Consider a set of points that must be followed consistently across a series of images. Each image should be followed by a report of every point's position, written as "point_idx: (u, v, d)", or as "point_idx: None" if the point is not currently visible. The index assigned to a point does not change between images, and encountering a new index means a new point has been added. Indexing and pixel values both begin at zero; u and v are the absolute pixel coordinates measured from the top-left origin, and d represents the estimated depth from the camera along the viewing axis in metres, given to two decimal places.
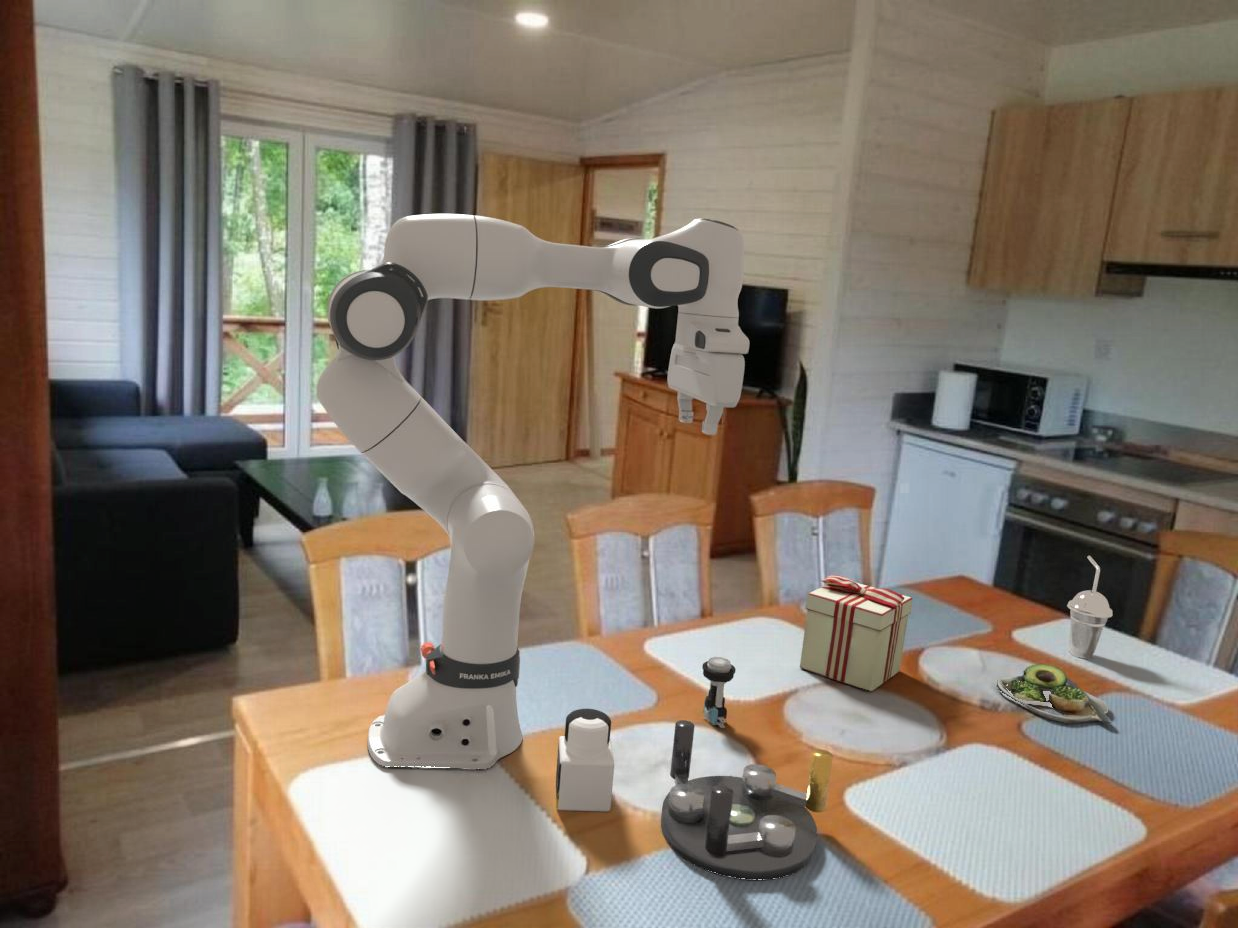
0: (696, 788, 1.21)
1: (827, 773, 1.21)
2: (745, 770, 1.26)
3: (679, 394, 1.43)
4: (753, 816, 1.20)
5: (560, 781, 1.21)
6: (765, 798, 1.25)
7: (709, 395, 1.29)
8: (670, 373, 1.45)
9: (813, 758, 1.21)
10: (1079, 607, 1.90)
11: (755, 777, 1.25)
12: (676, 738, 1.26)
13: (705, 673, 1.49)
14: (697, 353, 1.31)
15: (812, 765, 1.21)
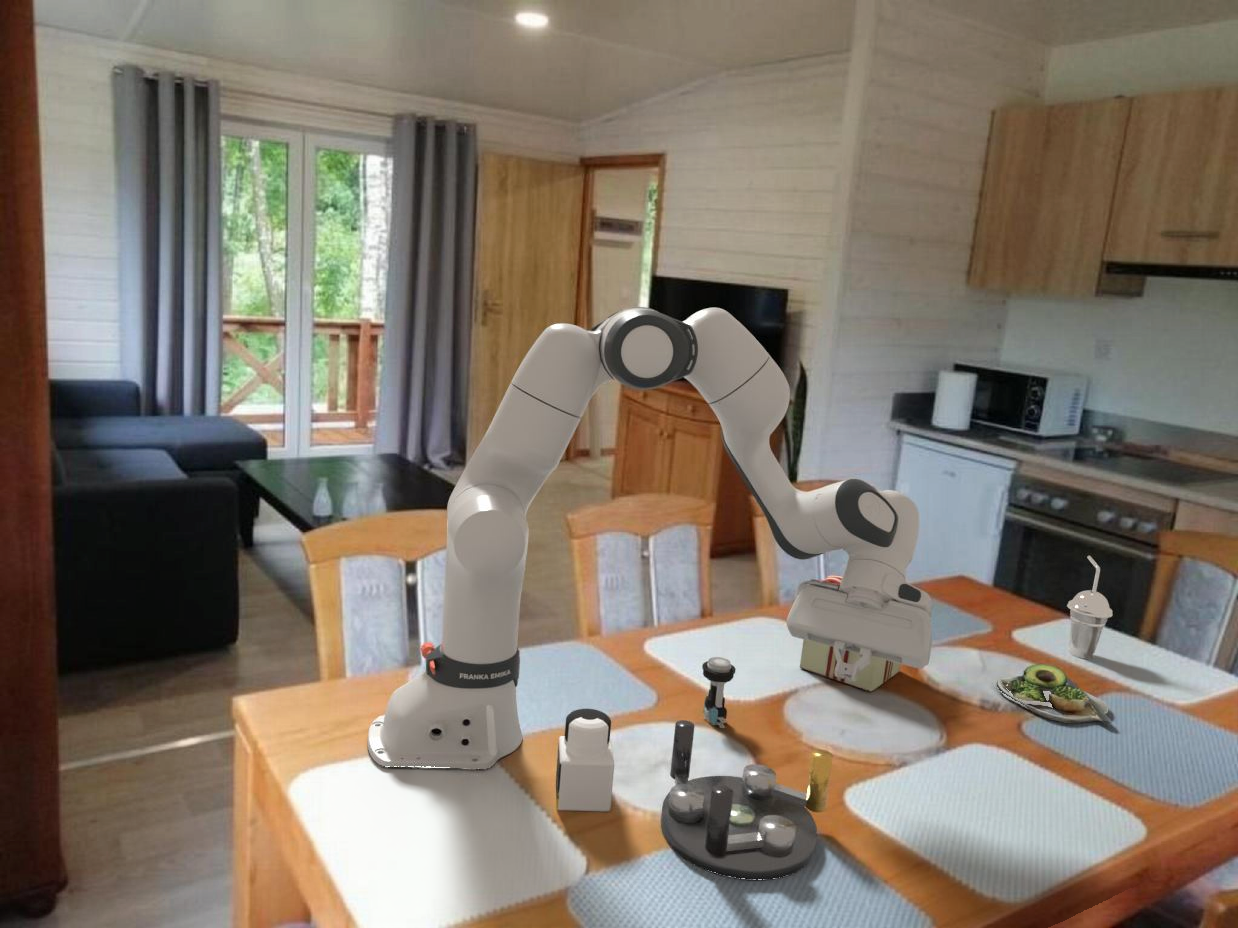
0: (696, 788, 1.21)
1: (827, 773, 1.21)
2: (745, 770, 1.26)
3: (840, 644, 1.31)
4: (753, 816, 1.20)
5: (560, 781, 1.21)
6: (765, 798, 1.25)
7: (911, 647, 1.28)
8: (798, 612, 1.35)
9: (813, 758, 1.21)
10: (1079, 607, 1.90)
11: (755, 777, 1.25)
12: (676, 738, 1.26)
13: (705, 673, 1.49)
14: (895, 603, 1.31)
15: (812, 765, 1.21)
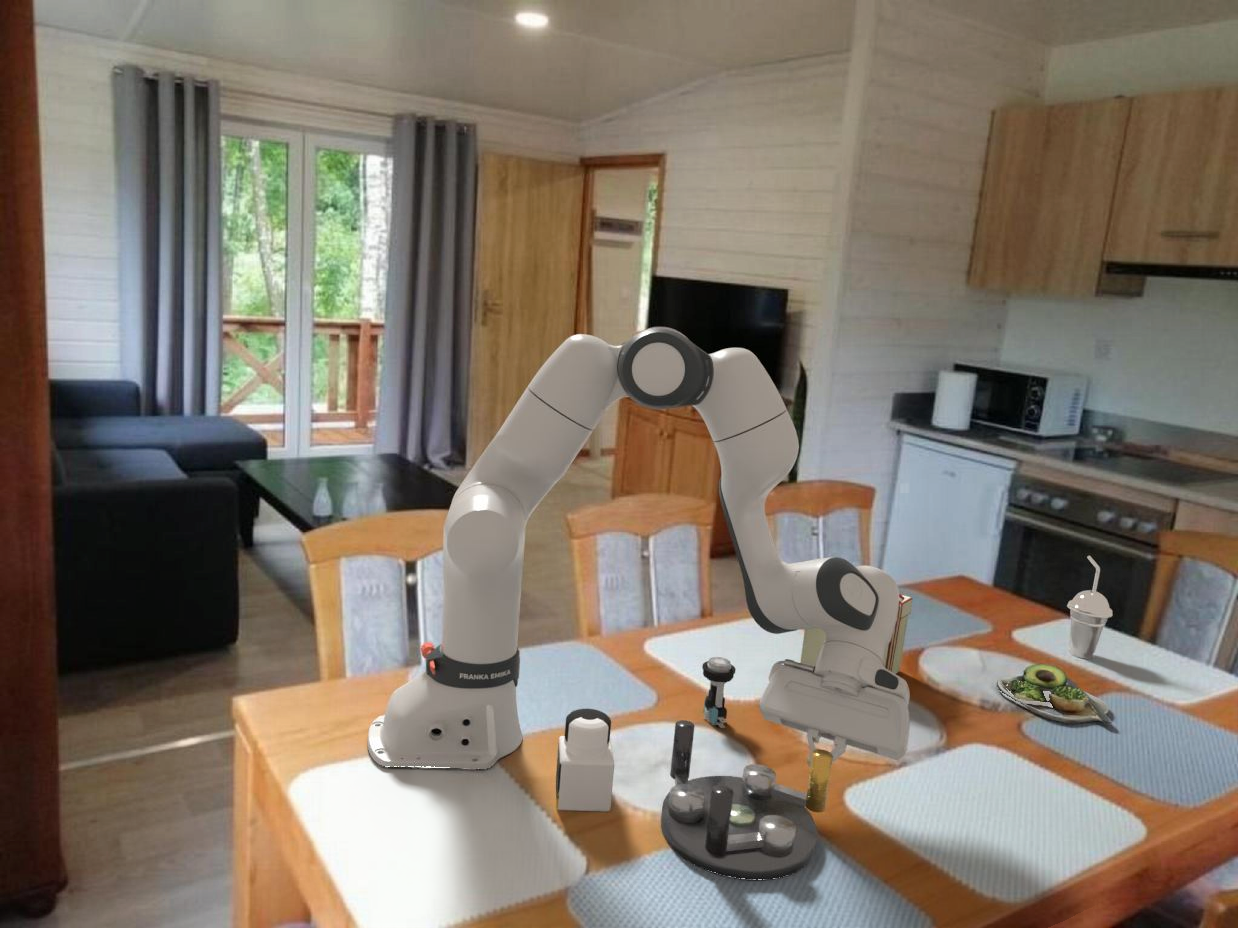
0: (696, 788, 1.21)
1: (827, 773, 1.21)
2: (745, 770, 1.26)
3: (813, 732, 1.26)
4: (753, 816, 1.20)
5: (560, 781, 1.21)
6: (765, 798, 1.25)
7: (887, 738, 1.22)
8: (771, 696, 1.30)
9: (813, 758, 1.21)
10: (1079, 607, 1.90)
11: (755, 777, 1.25)
12: (676, 738, 1.26)
13: (705, 673, 1.49)
14: (871, 690, 1.25)
15: (812, 765, 1.21)
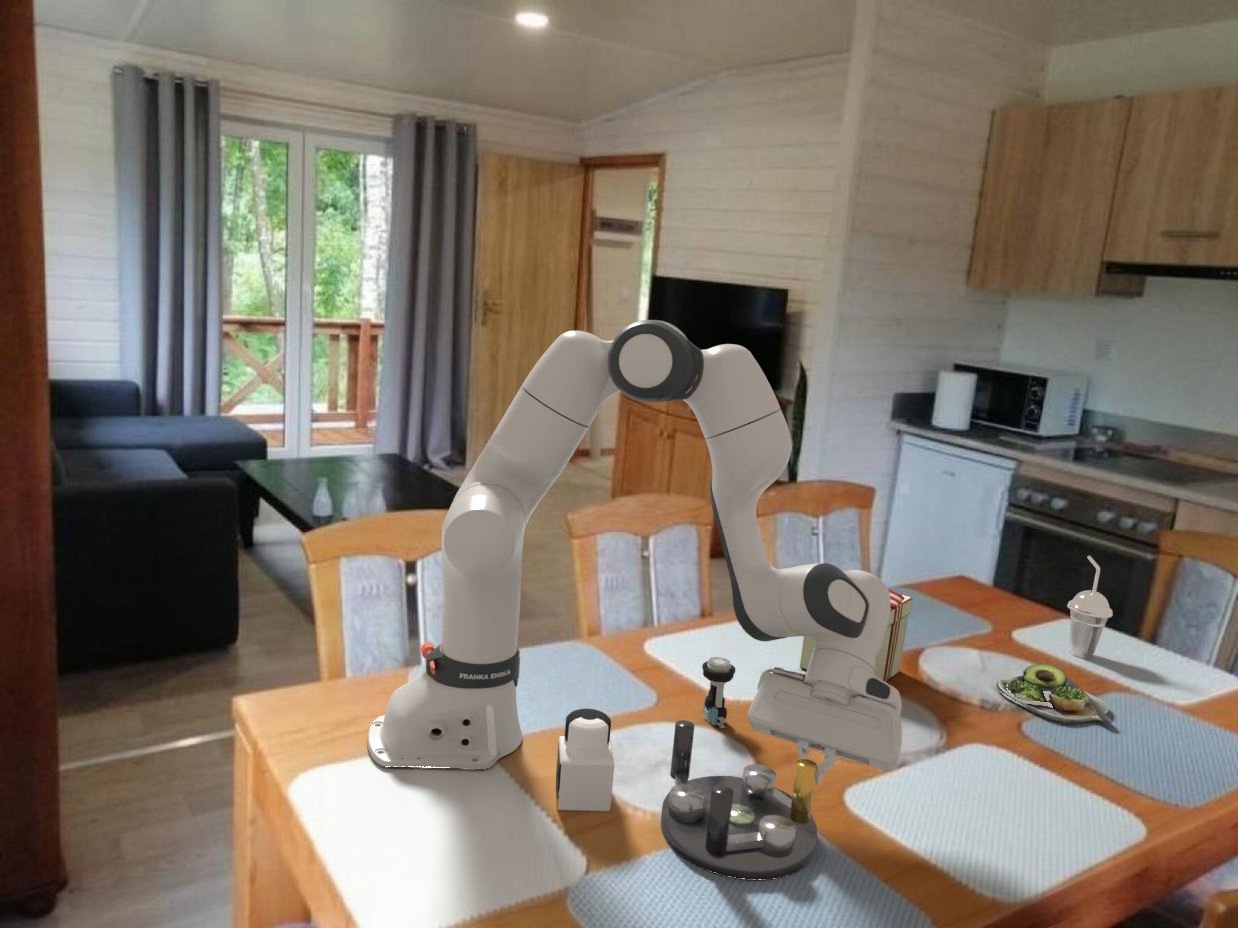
0: (696, 788, 1.21)
1: (808, 784, 1.18)
2: (747, 767, 1.27)
3: (803, 743, 1.23)
4: (753, 816, 1.20)
5: (560, 781, 1.21)
6: (757, 798, 1.25)
7: (879, 750, 1.19)
8: (759, 706, 1.26)
9: (796, 766, 1.19)
10: (1079, 607, 1.90)
11: (750, 775, 1.25)
12: (676, 738, 1.26)
13: (705, 673, 1.49)
14: (862, 700, 1.22)
15: (795, 773, 1.19)
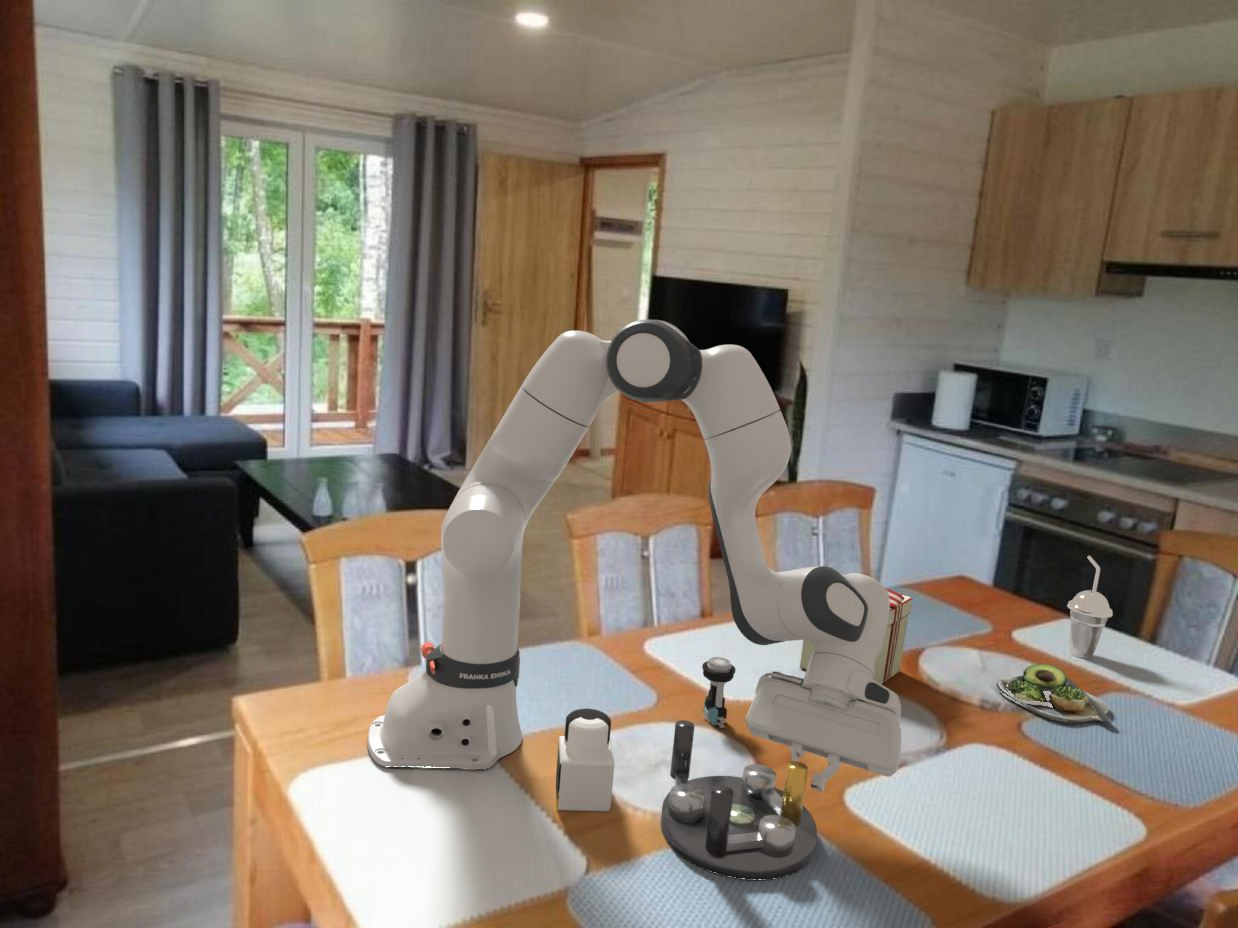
0: (696, 788, 1.21)
1: (796, 786, 1.17)
2: (748, 766, 1.28)
3: (797, 746, 1.22)
4: (753, 816, 1.20)
5: (560, 781, 1.21)
6: (754, 797, 1.25)
7: (878, 755, 1.18)
8: (757, 711, 1.25)
9: None
10: (1079, 607, 1.90)
11: (748, 773, 1.25)
12: (676, 738, 1.26)
13: (705, 673, 1.49)
14: (861, 704, 1.21)
15: None
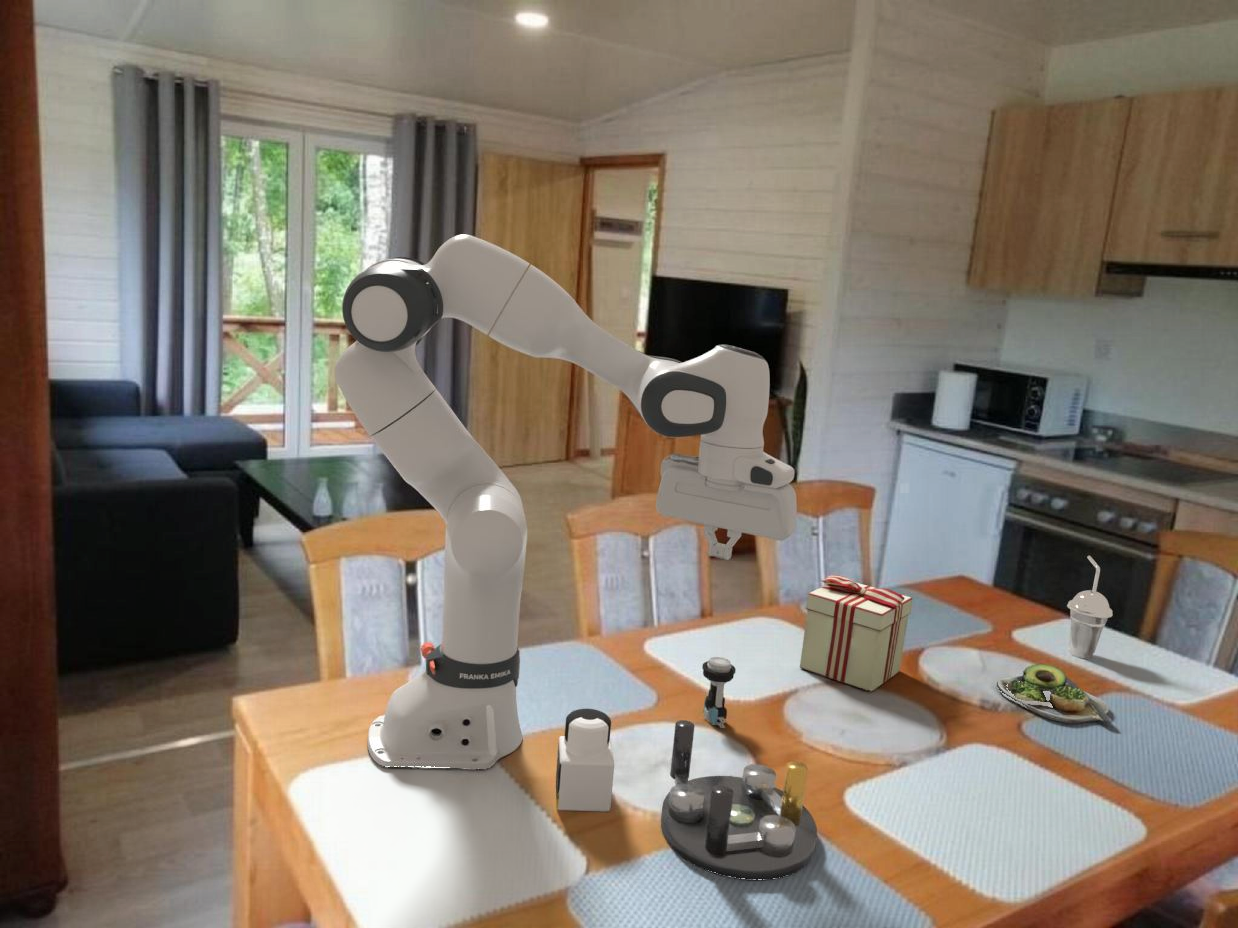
0: (696, 788, 1.21)
1: (796, 786, 1.17)
2: (748, 766, 1.28)
3: (708, 528, 1.32)
4: (753, 816, 1.20)
5: (560, 781, 1.21)
6: (754, 797, 1.25)
7: (772, 530, 1.27)
8: (664, 500, 1.34)
9: (786, 767, 1.18)
10: (1079, 607, 1.90)
11: (748, 773, 1.26)
12: (676, 738, 1.26)
13: (705, 673, 1.49)
14: (749, 488, 1.26)
15: None
